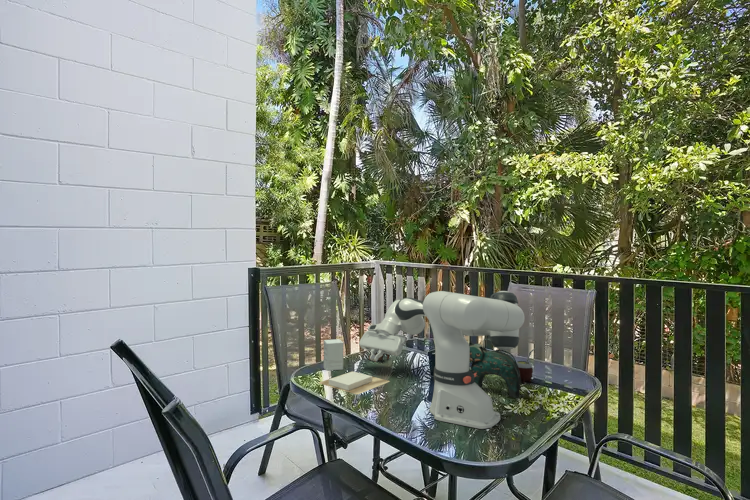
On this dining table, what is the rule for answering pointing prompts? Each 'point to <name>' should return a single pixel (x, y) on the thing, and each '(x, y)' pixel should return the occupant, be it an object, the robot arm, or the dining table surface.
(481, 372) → the ceramic cat
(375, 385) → the board
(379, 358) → the brown animal figurine
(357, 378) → the tile
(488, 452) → the dining table surface
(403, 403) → the dining table surface
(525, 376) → the mate gourd
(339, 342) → the supplement box
